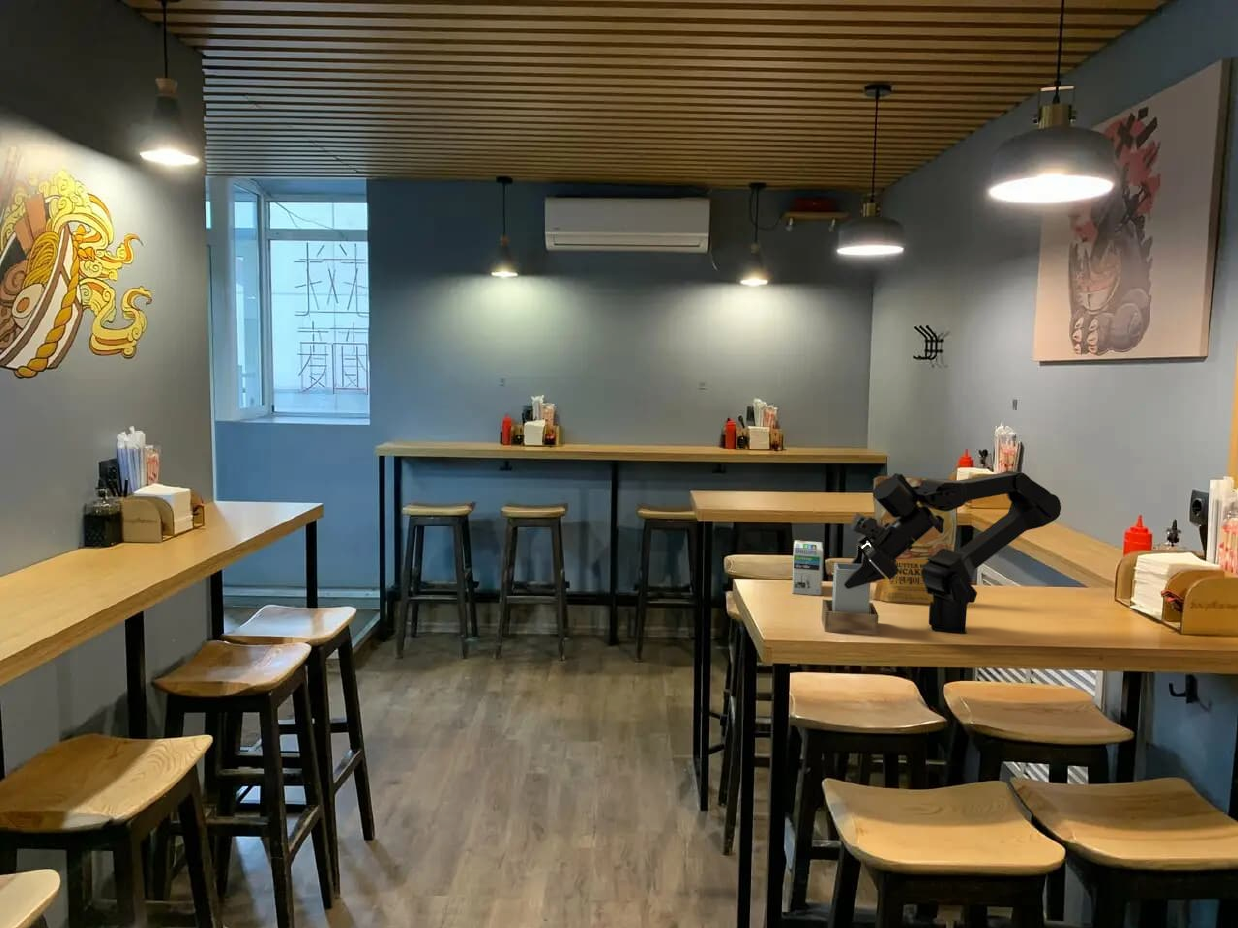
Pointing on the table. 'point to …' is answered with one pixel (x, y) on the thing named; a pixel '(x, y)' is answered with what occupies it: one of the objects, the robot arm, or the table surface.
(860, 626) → the walnut crate
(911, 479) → the pancake mix bag
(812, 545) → the light bulb box
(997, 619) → the table surface
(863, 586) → the grey crate
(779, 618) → the table surface
